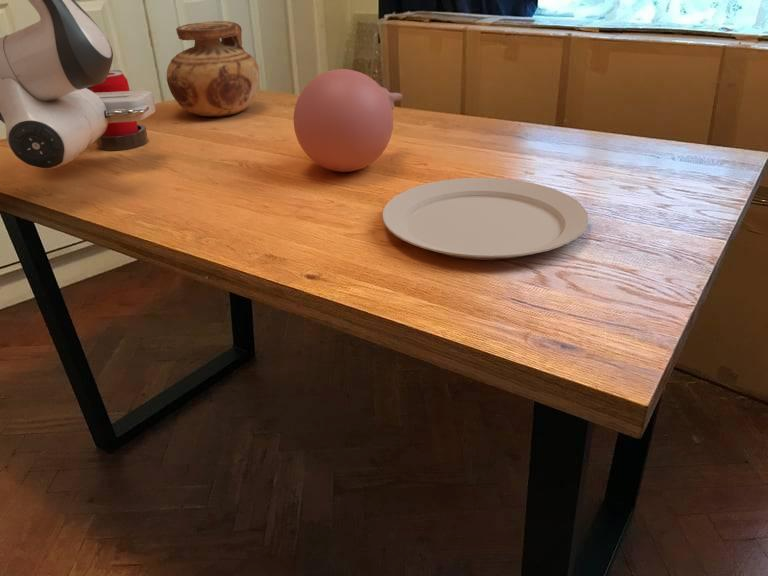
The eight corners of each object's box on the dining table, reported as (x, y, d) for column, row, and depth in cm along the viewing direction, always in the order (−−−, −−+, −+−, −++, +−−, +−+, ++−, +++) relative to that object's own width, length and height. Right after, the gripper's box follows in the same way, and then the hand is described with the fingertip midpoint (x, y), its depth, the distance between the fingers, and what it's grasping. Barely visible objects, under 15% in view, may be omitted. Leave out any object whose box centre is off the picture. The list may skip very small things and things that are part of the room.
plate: (626, 223, 83) (628, 208, 83) (500, 295, 68) (501, 278, 67) (470, 178, 100) (471, 165, 99) (341, 228, 85) (340, 214, 84)
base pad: (96, 153, 118) (92, 139, 117) (97, 140, 126) (93, 127, 125) (149, 146, 121) (146, 133, 120) (147, 134, 129) (144, 121, 127)
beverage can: (124, 133, 127) (110, 68, 121) (146, 136, 124) (133, 70, 118) (97, 141, 122) (80, 74, 116) (119, 145, 119) (104, 77, 113)
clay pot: (227, 113, 128) (181, 10, 123) (172, 139, 140) (128, 45, 134) (288, 92, 142) (249, -2, 137) (233, 117, 154) (196, 31, 148)
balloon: (435, 163, 107) (436, 64, 100) (334, 193, 96) (326, 85, 89) (377, 143, 118) (373, 53, 110) (280, 168, 107) (269, 71, 100)
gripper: (139, 92, 102) (160, 75, 114) (4, 99, 101) (40, 80, 114) (147, 133, 105) (167, 111, 117) (17, 139, 104) (50, 117, 117)
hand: (103, 96), depth 115 cm, fingers open, 8 cm apart
